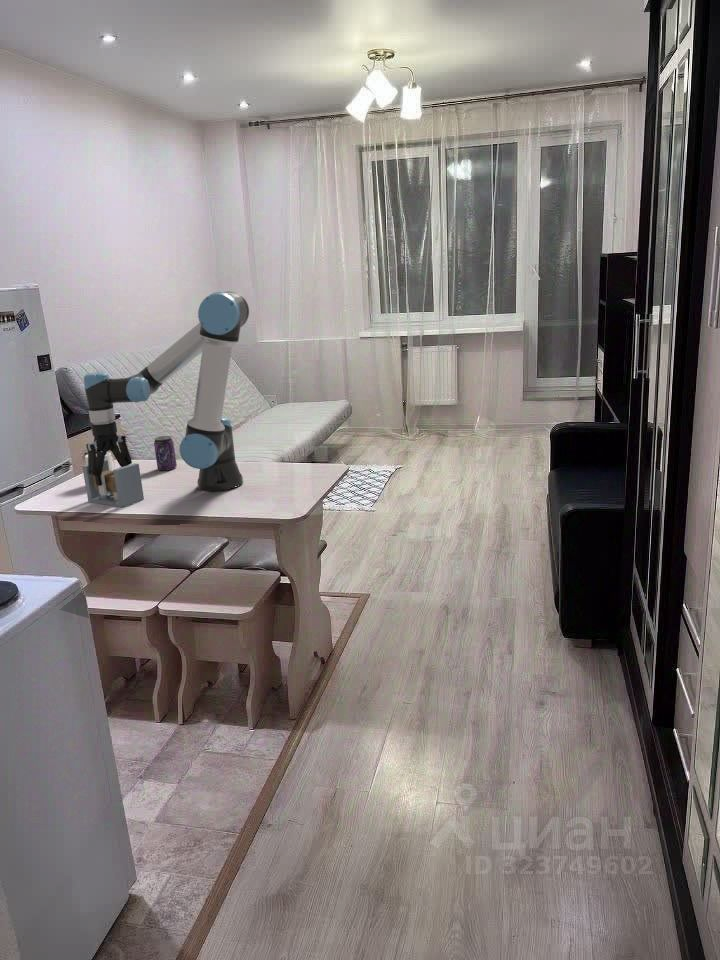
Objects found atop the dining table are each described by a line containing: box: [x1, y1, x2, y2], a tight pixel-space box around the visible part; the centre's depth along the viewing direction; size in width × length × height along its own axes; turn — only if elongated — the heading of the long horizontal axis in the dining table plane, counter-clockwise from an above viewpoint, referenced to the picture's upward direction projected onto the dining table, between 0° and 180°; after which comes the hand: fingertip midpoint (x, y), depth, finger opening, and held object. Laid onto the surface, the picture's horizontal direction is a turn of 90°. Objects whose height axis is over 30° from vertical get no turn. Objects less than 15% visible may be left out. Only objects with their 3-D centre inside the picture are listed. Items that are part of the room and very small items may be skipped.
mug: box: [84, 451, 116, 471], centre depth 255 cm, size 9×12×11 cm
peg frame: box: [81, 460, 145, 508], centre depth 232 cm, size 17×8×12 cm, turn 58°
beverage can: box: [153, 435, 178, 471], centre depth 268 cm, size 7×7×12 cm
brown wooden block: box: [93, 471, 117, 492], centre depth 232 cm, size 10×6×5 cm, turn 65°
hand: (114, 490), depth 233 cm, fingers open, 8 cm apart
